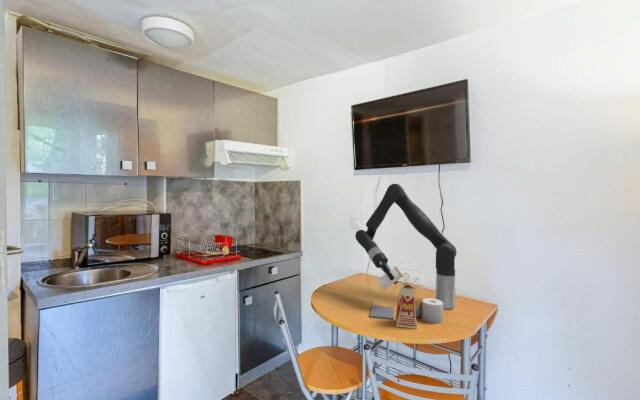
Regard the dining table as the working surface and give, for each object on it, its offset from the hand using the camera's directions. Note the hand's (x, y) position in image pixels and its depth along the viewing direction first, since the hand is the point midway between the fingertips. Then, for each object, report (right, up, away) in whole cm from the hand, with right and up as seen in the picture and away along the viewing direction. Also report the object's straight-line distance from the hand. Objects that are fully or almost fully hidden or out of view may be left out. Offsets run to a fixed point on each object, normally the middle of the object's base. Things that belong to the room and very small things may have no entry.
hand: (394, 281), depth 162 cm
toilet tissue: (+14, -16, -9) cm, 23 cm away
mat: (-7, -15, -3) cm, 17 cm away
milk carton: (+2, -16, -15) cm, 22 cm away
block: (-6, -3, +3) cm, 8 cm away
